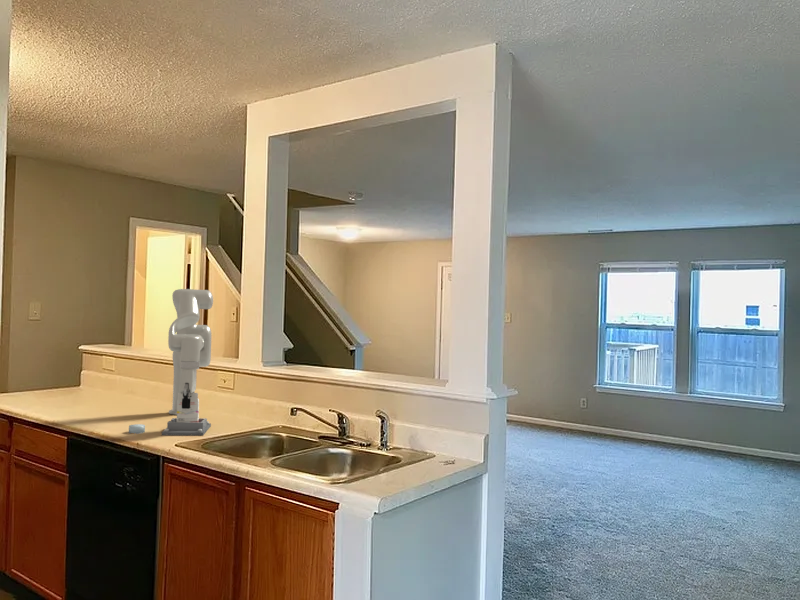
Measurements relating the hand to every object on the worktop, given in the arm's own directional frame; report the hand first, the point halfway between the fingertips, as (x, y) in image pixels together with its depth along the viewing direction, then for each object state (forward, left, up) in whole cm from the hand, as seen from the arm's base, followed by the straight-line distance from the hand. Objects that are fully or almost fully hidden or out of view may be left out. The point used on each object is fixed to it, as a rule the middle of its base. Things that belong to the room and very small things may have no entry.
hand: (188, 406), depth 262 cm
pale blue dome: (+4, -19, -10) cm, 22 cm away
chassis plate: (0, 0, -10) cm, 10 cm away
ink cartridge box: (-1, 0, -9) cm, 9 cm away
